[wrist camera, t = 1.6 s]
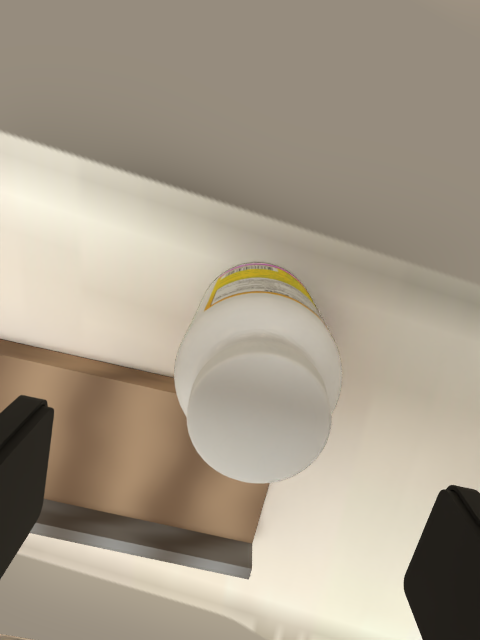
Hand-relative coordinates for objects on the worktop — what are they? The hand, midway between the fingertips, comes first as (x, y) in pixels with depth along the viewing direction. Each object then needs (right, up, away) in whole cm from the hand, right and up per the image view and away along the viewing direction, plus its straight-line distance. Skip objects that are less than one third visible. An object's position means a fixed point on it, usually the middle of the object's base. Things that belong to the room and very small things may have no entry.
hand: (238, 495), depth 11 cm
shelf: (-9, -3, +19) cm, 21 cm away
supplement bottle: (+1, +4, +16) cm, 17 cm away
